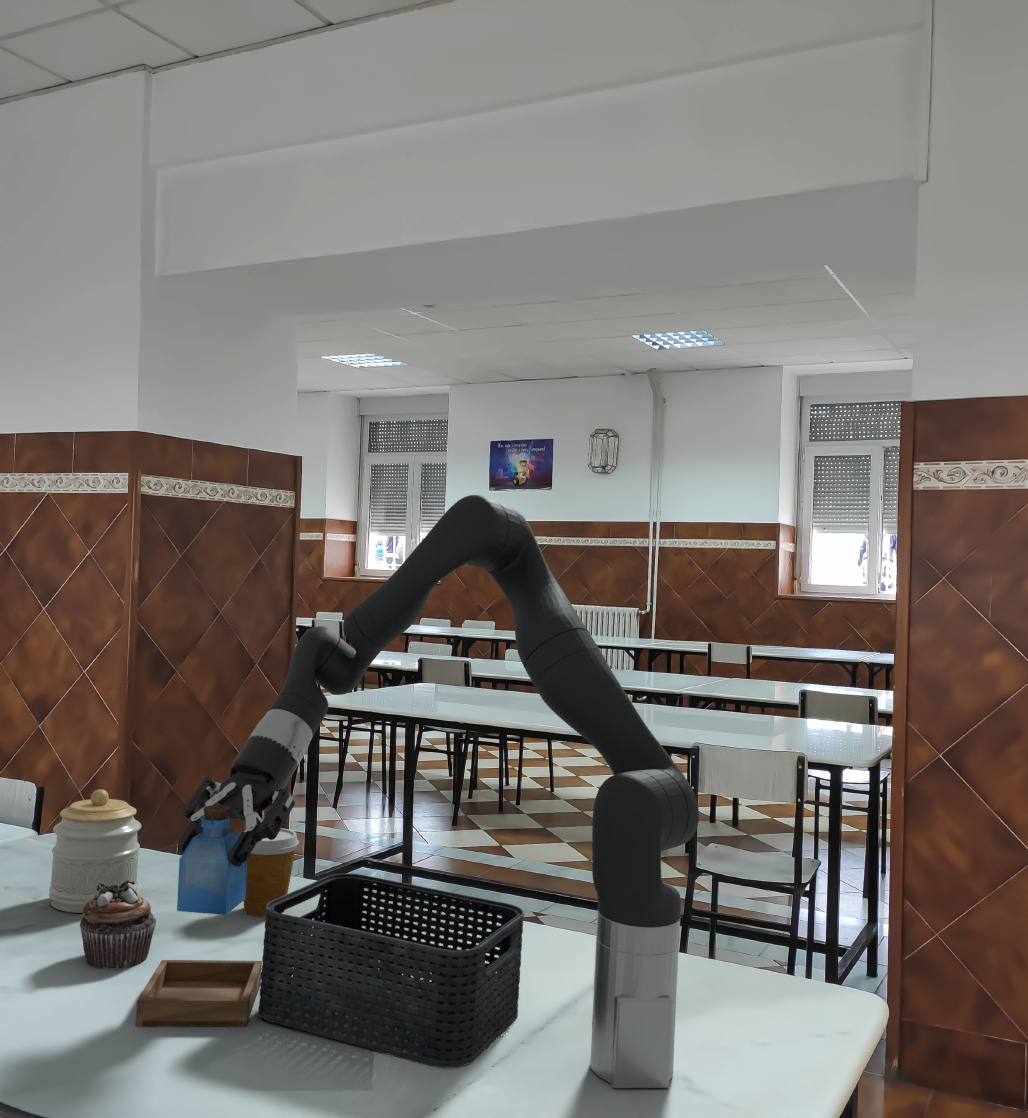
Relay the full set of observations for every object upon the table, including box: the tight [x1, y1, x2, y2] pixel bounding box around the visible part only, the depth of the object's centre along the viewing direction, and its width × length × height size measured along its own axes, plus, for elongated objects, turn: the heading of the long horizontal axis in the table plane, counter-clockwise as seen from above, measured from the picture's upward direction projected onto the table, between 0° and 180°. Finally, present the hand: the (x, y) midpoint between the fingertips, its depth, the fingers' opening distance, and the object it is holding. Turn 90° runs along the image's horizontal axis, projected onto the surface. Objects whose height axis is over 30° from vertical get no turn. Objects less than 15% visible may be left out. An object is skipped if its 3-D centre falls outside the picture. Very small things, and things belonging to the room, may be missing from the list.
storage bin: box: [257, 872, 525, 1068], centre depth 124 cm, size 29×19×13 cm
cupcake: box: [79, 880, 158, 970], centre depth 138 cm, size 10×10×10 cm
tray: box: [134, 959, 263, 1028], centre depth 124 cm, size 13×13×3 cm
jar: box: [48, 788, 142, 914], centre depth 160 cm, size 13×13×18 cm
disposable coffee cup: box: [243, 827, 300, 917], centre depth 160 cm, size 10×10×12 cm
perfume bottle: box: [176, 804, 247, 916], centre depth 126 cm, size 6×6×12 cm
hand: (207, 857), depth 124 cm, fingers closed on perfume bottle, 7 cm apart
